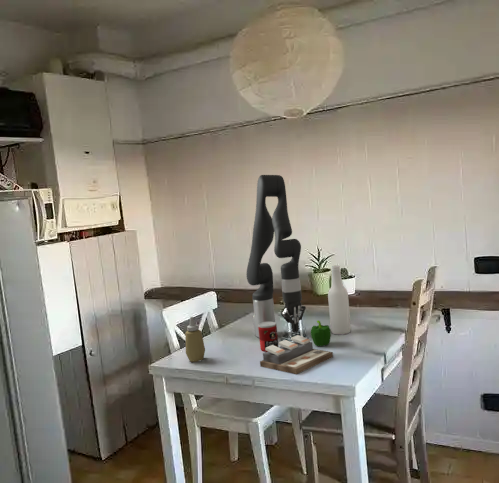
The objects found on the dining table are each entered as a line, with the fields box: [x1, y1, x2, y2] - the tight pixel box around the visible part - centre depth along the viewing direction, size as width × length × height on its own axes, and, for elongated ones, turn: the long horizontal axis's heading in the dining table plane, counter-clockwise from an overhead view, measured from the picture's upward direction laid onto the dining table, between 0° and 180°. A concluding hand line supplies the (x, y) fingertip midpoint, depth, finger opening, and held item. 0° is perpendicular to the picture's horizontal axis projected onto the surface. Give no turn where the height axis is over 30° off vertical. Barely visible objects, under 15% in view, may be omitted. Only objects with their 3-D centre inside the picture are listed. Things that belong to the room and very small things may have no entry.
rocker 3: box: [290, 334, 311, 345], centre depth 226 cm, size 6×4×2 cm, turn 45°
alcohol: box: [327, 264, 352, 336], centre depth 252 cm, size 9×9×30 cm
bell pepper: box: [310, 320, 332, 347], centre depth 237 cm, size 8×8×10 cm
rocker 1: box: [265, 345, 285, 356], centre depth 215 cm, size 6×4×2 cm, turn 45°
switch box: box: [259, 341, 334, 375], centre depth 218 cm, size 18×22×5 cm
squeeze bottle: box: [184, 316, 206, 363], centre depth 233 cm, size 8×8×18 cm
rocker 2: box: [278, 339, 298, 350], centre depth 221 cm, size 6×4×2 cm, turn 45°
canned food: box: [258, 321, 279, 353], centre depth 238 cm, size 8×8×11 cm
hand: (295, 332), depth 227 cm, fingers closed
